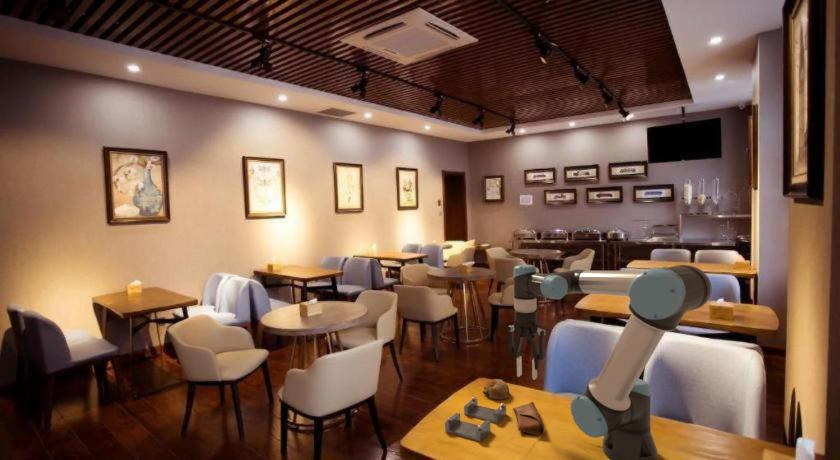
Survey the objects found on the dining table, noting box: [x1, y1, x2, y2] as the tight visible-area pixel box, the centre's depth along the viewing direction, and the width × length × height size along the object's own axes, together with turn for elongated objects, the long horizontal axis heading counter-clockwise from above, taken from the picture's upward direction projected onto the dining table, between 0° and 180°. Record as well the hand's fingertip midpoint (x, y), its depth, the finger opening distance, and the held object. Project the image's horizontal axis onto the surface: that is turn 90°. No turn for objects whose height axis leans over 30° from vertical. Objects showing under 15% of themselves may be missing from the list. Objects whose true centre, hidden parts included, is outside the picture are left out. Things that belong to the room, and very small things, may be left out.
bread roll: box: [482, 378, 510, 401], centre depth 176 cm, size 10×10×8 cm
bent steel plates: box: [444, 396, 507, 443], centre depth 155 cm, size 13×22×4 cm, turn 147°
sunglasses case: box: [512, 401, 545, 436], centre depth 154 cm, size 18×7×7 cm
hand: (527, 376), depth 152 cm, fingers open, 5 cm apart
